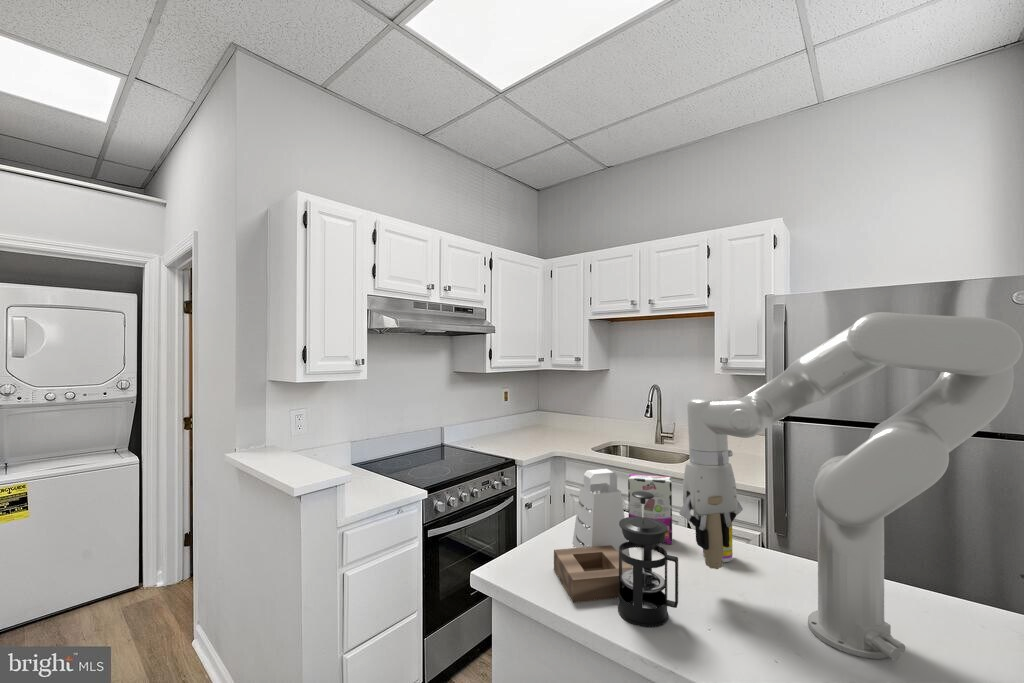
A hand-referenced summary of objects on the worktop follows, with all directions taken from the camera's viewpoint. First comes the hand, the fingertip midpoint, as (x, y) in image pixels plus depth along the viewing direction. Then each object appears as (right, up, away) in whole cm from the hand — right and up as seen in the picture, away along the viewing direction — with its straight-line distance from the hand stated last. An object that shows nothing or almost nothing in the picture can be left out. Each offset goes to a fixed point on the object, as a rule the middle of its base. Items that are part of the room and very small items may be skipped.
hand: (712, 545), depth 96 cm
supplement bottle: (+8, -10, +17) cm, 21 cm away
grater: (-20, -10, +19) cm, 30 cm away
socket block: (-24, -10, +4) cm, 26 cm away
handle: (0, -4, 0) cm, 5 cm away
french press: (-16, -10, -7) cm, 20 cm away
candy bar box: (-5, -10, +27) cm, 30 cm away
